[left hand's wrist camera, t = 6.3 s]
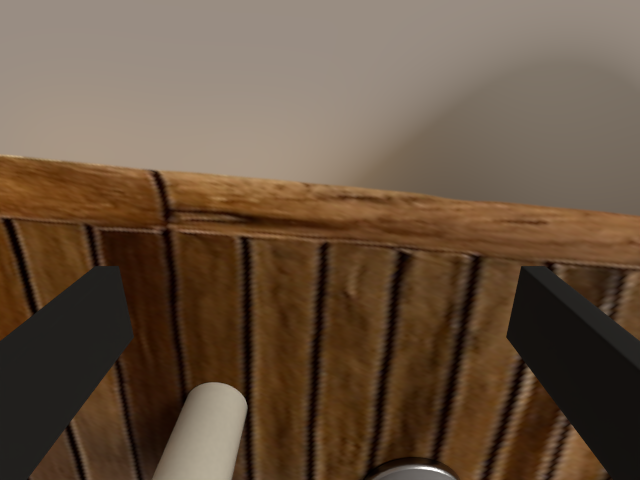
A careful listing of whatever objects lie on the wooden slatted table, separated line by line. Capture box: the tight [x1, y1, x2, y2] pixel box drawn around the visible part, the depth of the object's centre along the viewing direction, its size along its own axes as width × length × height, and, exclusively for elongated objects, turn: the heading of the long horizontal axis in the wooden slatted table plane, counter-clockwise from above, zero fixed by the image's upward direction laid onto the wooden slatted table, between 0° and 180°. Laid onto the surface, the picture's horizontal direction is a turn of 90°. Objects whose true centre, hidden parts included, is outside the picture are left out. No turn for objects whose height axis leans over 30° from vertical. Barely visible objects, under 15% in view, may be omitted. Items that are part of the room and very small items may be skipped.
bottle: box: [151, 382, 247, 480], centre depth 42 cm, size 8×8×19 cm
